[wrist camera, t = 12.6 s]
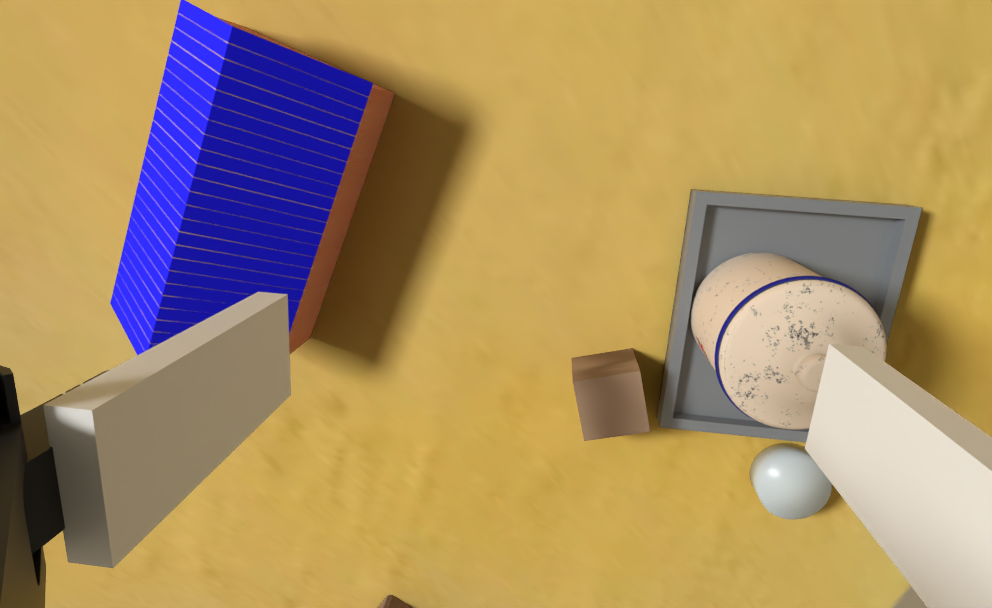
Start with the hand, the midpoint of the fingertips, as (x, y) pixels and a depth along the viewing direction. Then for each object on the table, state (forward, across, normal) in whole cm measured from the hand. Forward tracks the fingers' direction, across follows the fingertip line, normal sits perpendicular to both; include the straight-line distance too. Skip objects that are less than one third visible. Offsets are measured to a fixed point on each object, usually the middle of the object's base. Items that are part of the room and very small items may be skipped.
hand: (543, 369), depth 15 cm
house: (+29, -20, 0) cm, 35 cm away
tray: (+29, +16, -6) cm, 33 cm away
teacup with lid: (+28, +16, -6) cm, 33 cm away
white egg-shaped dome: (+29, +19, -18) cm, 39 cm away
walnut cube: (+29, +5, -12) cm, 32 cm away
